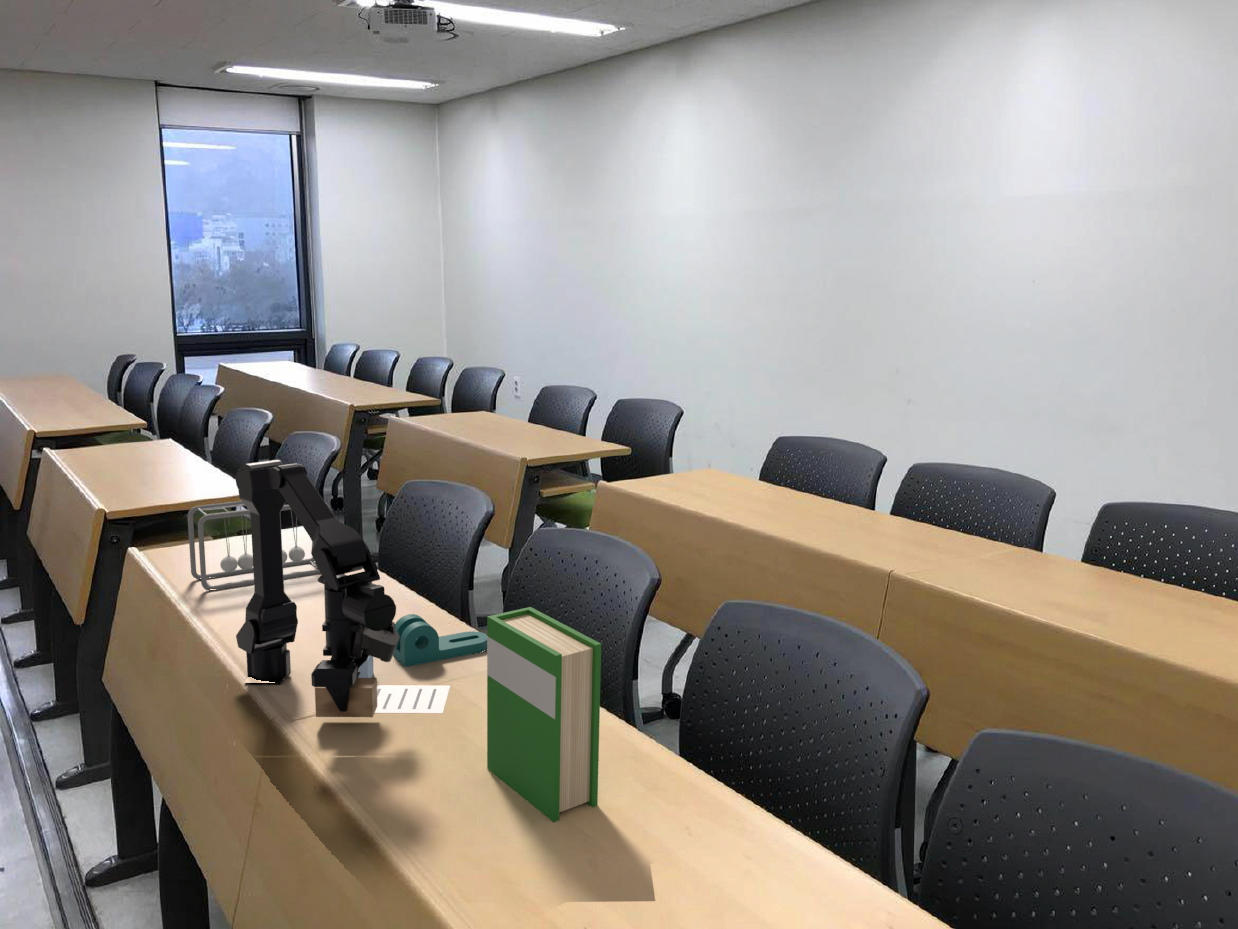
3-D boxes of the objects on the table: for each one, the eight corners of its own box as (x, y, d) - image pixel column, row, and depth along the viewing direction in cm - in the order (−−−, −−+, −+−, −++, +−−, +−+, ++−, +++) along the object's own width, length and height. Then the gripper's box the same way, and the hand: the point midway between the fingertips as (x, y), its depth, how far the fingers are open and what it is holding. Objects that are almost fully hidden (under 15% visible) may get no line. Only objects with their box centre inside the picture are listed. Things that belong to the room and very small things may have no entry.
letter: (357, 713, 164) (357, 712, 164) (371, 685, 174) (371, 685, 174) (442, 713, 164) (442, 713, 164) (450, 686, 175) (450, 685, 175)
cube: (339, 686, 174) (338, 659, 173) (345, 674, 179) (345, 649, 178) (368, 686, 174) (367, 660, 173) (373, 675, 179) (373, 649, 178)
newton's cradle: (318, 561, 246) (315, 492, 242) (333, 572, 238) (330, 500, 234) (191, 580, 228) (186, 506, 225) (202, 593, 220) (197, 516, 217)
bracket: (404, 668, 183) (404, 628, 181) (392, 656, 188) (392, 617, 187) (493, 651, 192) (493, 613, 190) (479, 639, 198) (479, 602, 196)
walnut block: (315, 717, 158) (314, 687, 157) (322, 706, 161) (321, 677, 160) (372, 717, 158) (371, 688, 157) (377, 706, 162) (376, 677, 161)
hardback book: (597, 805, 138) (601, 643, 133) (553, 822, 133) (556, 655, 128) (529, 755, 151) (530, 606, 147) (487, 769, 147) (487, 616, 142)
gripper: (384, 636, 148) (386, 732, 151) (404, 595, 166) (405, 681, 169) (308, 635, 147) (312, 732, 150) (337, 594, 165) (340, 681, 168)
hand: (346, 705), depth 160 cm, fingers closed on walnut block, 4 cm apart
